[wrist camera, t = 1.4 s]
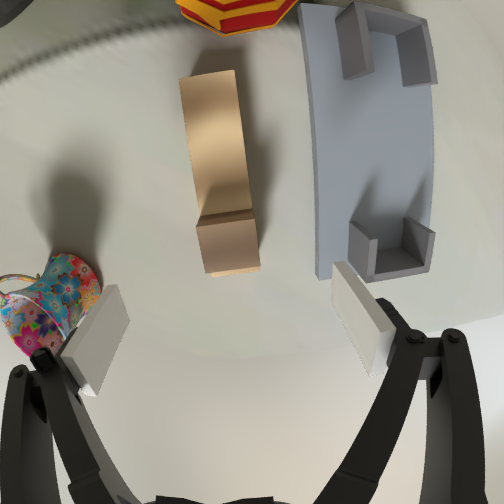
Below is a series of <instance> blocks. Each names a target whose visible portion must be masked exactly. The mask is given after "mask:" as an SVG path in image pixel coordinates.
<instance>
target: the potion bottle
mask: <svg viewBox="0 0 504 504" xmlns="http://www.w3.org/2000/svg"><path fill="white" fill-rule="evenodd" d="M175 1H176V3H177V4H179V5H180V9H181V14H182V15H183V16H185V17H186V18H187V19H189V20H191V21H193V22H196V23H197V24H199V25H201V26H203V27H205V28H207V29H209V30H211V31H213V32H215V33H217V34H218V35H220V36H222V37H226V36H230V35H235V34H240V33H245V32H250V31H256V30H262V29H269V28H272V27H274V26H275V25H276V24H277V23H278V22H279V21H280V20H281V18H282V17H283V16H284V15H285V14H286V13H287V12H288V11H289V10H290V9H291V7H292V6H293V5H294V4H295V3H296V2H297V1H298V0H175ZM200 22H202V23H204V24H206V25H208V26H210V27H213V28H215V29H217V30H219V31H221V32H223V33H225V35H222V34H220V33H218V32H216V31H215V30H213V29H211V28H209V27H208V26H206V25H204V24H202V23H200ZM227 33H229V34H227Z"/></svg>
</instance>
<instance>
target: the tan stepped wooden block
mask: <svg viewBox="0 0 504 504" xmlns="http://www.w3.org/2000/svg"><path fill="white" fill-rule="evenodd" d="M179 83H180V91H181V99H182V106H183V113H184V120H185V127H186V134H187V141H188V147H189V153H190V160H191V166H192V172H193V178H194V184H195V189H196V195H197V201H198V206H199V212H200V218H199V221H198V223H197V226H196V230H197V235H198V240H199V245H200V250H201V254H202V259H203V264H204V268H205V273H212V277H217V276H224V275H232V274H239V273H247V272H254V271H260V266H261V265H260V256H259V248H258V240H257V232H256V224H255V217H254V213H253V209H252V202H251V194H250V186H249V178H248V170H247V163H246V155H245V147H244V140H243V132H242V125H241V117H240V109H239V102H238V94H237V87H236V80H235V72H234V70H228V71H221V72H214V73H208V74H202V75H196V76H191V77H186V78H181V79H179Z"/></svg>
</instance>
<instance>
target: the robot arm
mask: <svg viewBox="0 0 504 504" xmlns="http://www.w3.org/2000/svg"><path fill="white" fill-rule="evenodd" d="M32 1H33V0H0V28H1V27H3V26H4V25H6V24H7V23H9V22H10V21H12V20H13V19H14V18H15V17H16V16H18V15H19V14H20V13H21V12H22V11H23V10H24V9H25V8H26V7H27V6H28V5H29V4H30V3H31V2H32ZM331 302H332V304H333V306H334V308H335V310H336V312H337V314H338V316H339V318H340V319H341V321H342V323H343V325H344V327H345V329H346V331H347V333H348V335H349V337H350V339H351V341H352V343H353V345H354V347H355V349H356V351H357V353H358V355H359V357H360V359H361V361H362V363H363V365H364V367H365V369H366V371H367V373H368V375H369V377H371V376H375V375H379V374H382V373H384V371H385V368H386V365H387V366H388V371H387V373H386V376H385V378H384V380H383V383H382V385H381V387H380V390H379V392H378V394H377V396H376V399H375V401H374V403H373V405H372V407H371V409H370V411H369V413H368V416H367V418H366V420H365V422H364V424H363V425H362V427H361V429H360V431H359V433H358V435H357V437H356V439H355V441H354V442H353V444H352V446H351V448H350V449H349V451H348V453H347V455H346V456H345V458H344V460H343V461H342V463H341V465H340V466H339V468H338V469H337V470H336V471H335V473H334V474H333V476H332V477H331V478H330V480H329V481H328V483H327V484H326V486H325V487H324V489H323V491H322V492H321V493H320V495H319V496H318V497H317V499H316V500H315V502H314V503H313V504H369V502H370V500H371V498H372V497H373V495H374V493H375V491H376V489H377V487H378V482H379V479H380V477H381V475H382V473H383V471H384V469H385V467H386V465H387V462H388V460H389V458H390V456H391V454H392V451H393V449H394V446H395V444H396V442H397V440H398V437H399V435H400V432H401V429H402V427H403V424H404V421H405V418H406V416H407V413H408V410H409V407H410V404H411V401H412V398H413V395H414V392H415V388H416V384H417V381H418V380H426V384H427V385H426V386H427V436H426V452H425V464H424V465H425V466H424V474H423V482H422V489H421V495H420V502H419V504H488V501H487V498H486V495H485V491H484V490H485V455H484V454H485V451H484V436H483V425H482V416H481V408H480V401H479V395H478V389H477V383H476V378H475V373H474V369H473V364H472V360H471V355H470V351H469V347H468V343H467V340H466V337H465V335H464V334H463V333H462V332H461V331H459V330H457V329H453V328H449V329H446V330H444V331H443V333H442V335H441V337H440V338H439V337H438V338H427V337H426V335H425V334H424V333H423V332H421V331H419V330H415V329H411V328H410V327H409V325H408V324H407V323H406V321H405V320H404V319H403V318H402V316H401V315H400V314H399V313H398V311H397V310H396V309H395V307H394V306H393V305H392V304H391V303H390V302H389V301H387V300H386V299H384V298H379V299H374V298H373V296H372V295H371V294H370V292H369V291H368V290H367V288H366V287H365V286H364V285H363V283H362V282H361V281H360V279H359V278H358V277H357V276H356V274H355V273H354V272H353V271H352V269H351V268H350V267H349V265H348V264H347V263H346V262H345V261H339V262H333V270H332V292H331ZM129 322H130V320H129V317H128V314H127V311H126V309H125V306H124V303H123V300H122V297H121V294H120V292H119V289H118V286H117V285H108V286H106V288H105V289H104V290H103V292H102V293H101V295H100V296H99V298H98V299H97V300H96V302H95V303H94V305H93V306H92V308H91V309H90V311H89V312H88V313H87V315H86V316H85V318H84V319H83V321H82V322H81V324H80V325H79V327H76V328H75V329H74V330H72V331H71V332H70V333H69V335H68V336H67V338H66V340H65V341H64V343H63V345H62V346H61V347H60V349H59V351H58V352H57V354H56V355H55V357H54V355H53V354H52V352H51V350H50V348H49V347H47V346H42V347H39V348H37V349H36V350H34V351H33V352H32V354H31V356H30V361H31V362H32V364H33V366H34V367H35V369H36V370H35V371H29V370H28V368H27V367H26V365H23V364H22V365H18V366H16V367H14V368H13V370H12V371H11V373H10V376H9V380H8V386H7V391H6V397H5V403H4V410H3V419H2V428H1V442H0V491H1V504H61V500H60V495H59V490H58V484H57V477H56V470H55V461H54V451H53V439H52V432H53V435H54V438H55V442H56V445H57V447H58V450H59V453H60V456H61V458H62V461H63V464H64V466H65V469H66V471H67V473H68V476H69V478H70V480H71V484H69V485H68V490H69V492H70V495H71V497H72V499H73V501H74V503H75V504H142V503H141V502H140V501H139V500H138V499H137V498H136V497H135V496H134V495H133V494H132V492H131V491H130V489H129V488H128V486H127V485H126V483H125V482H124V480H123V478H122V477H121V475H120V474H119V472H118V470H117V469H116V467H115V465H114V464H113V462H112V460H111V458H110V457H109V455H108V453H107V451H106V450H105V448H104V446H103V444H102V442H101V440H100V438H99V436H98V434H97V432H96V430H95V428H94V426H93V424H92V422H91V420H90V418H89V415H88V413H87V411H86V409H85V406H84V404H83V402H82V399H81V397H80V396H79V394H78V391H79V388H81V390H82V391H83V393H84V394H85V395H89V396H97V395H98V393H99V390H100V388H101V385H102V383H103V380H104V378H105V375H106V373H107V371H108V368H109V366H110V364H111V361H112V359H113V357H114V354H115V352H116V350H117V348H118V345H119V343H120V341H121V339H122V337H123V334H124V332H125V330H126V328H127V326H128V324H129ZM145 504H203V503H199V502H195V501H191V500H188V499H184V498H176V497H164V496H156V501H152V502H148V503H145ZM223 504H289V503H284V502H276V501H274V500H273V496H272V497H261V498H247V499H240V500H237V501H232V502H228V503H223Z"/></svg>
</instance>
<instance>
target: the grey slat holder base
mask: <svg viewBox="0 0 504 504" xmlns="http://www.w3.org/2000/svg"><path fill="white" fill-rule="evenodd" d="M297 12H298V18H299V25H300V31H301V38H302V46H303V53H304V61H305V70H306V79H307V88H308V99H309V110H310V122H311V135H312V151H313V169H314V194H315V274H316V276H317V278H318V280H326V279H332V270H333V262H339V261H345V262H346V263H347V264H348V265H349V267H350V268H351V269H352V271H353V272H354V273H355V274H356V275H360V276H361V278H362V279H363V280H364V282H365V283H371V282H377V281H383V280H389V279H395V278H400V277H406V276H411V275H416V274H422V273H427V272H429V269H430V264H431V258H432V252H433V246H434V240H435V232H434V231H432V230H430V229H429V224H430V215H431V204H432V191H433V172H434V127H433V108H432V96H431V86H430V85H433V84H438V81H437V73H436V66H435V60H434V54H433V48H432V43H431V38H430V33H429V29H428V24H427V20H426V19H423V18H421V17H418V16H414V15H411V14H408V13H405V12H401V11H398V10H394V9H390V8H386V7H382V6H378V5H373V4H369V3H364V2H358V1H353V2H352V3H351V4H350V5H349V6H348V7H347V8H345V7H338V6H330V5H321V4H309V3H300V4H299V6H298V8H297Z"/></svg>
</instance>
